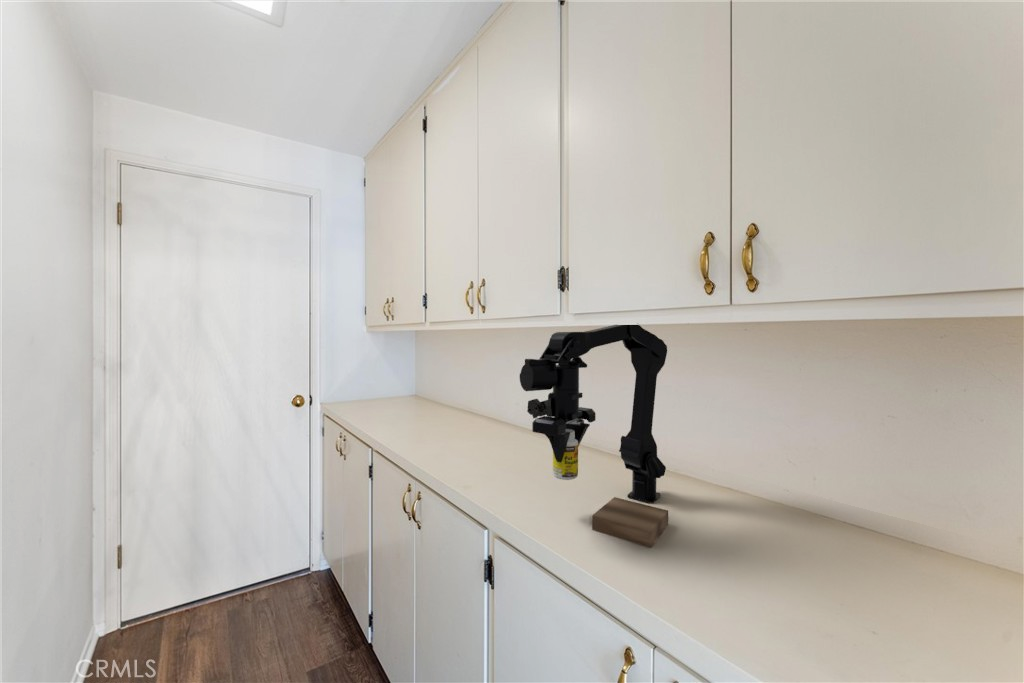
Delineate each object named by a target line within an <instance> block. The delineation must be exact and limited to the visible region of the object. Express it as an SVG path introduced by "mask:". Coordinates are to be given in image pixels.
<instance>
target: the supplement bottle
mask: <svg viewBox="0 0 1024 683" xmlns="http://www.w3.org/2000/svg"><path fill="white" fill-rule="evenodd" d="M565 432H570V435H569V439H568V442H567V446H566V449H565V453H564V456H563V459H562V462H557V461H556V458H555V455H554V452H553V451H552V475H553V477H554V478H556V479H559V480H561V481H570V480H571V481H572V480H575V479H576V478H578V477H579V476H578V475H579V446H578V441H577V440H576V439H574V438H575V431H574V430H571V429H566V430H565Z"/></svg>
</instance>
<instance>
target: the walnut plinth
mask: <svg viewBox="0 0 1024 683" xmlns="http://www.w3.org/2000/svg"><path fill="white" fill-rule="evenodd" d="M591 517H592V518H591V519H592V521H591V530H592V531H594V532H595V531H596V532H599V533H601V534H605V535H608V536H612V537H614V538H618V539H620V540H625V541H628V542H631V543H634V544H637V545H640V546H644V547H647V548H649V549H651V548H652V547H653V545H654V544H655V543H656V541H657V540H658V539H659V538H660V536H661V535H662V534H663V532H664V531H665V530H666V528H667V527H668V525H669V510H667V509H663V508H660V507H656V506H652V505H649V504H648V505H647V504H644V503H640V502H636V501H632V500H628V499H623V498H620V497H616V496H614V497H613V498H611V499H610V500H609V501H608V502H607V503H605V504H604V505H603V506H602V507H601V508H599V509H597V511H595V512H594V513H593V514H592V516H591Z"/></svg>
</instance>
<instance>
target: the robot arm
mask: <svg viewBox="0 0 1024 683" xmlns="http://www.w3.org/2000/svg"><path fill="white" fill-rule="evenodd" d="M620 341H622V344H623V346H624V347H625V349H626V350H628V351H629V353H630V358H631V359H630V361H631V364H632V367H633V369H634V371H635V381H634V382H635V383H634V393H633V403H632V413H631V424H630V430H629V431H628V432H627V434H626V436H625V435H622V436H620V447H619V450H618V452H620V458H621V460H622V461H623V463H624V466H625V469H627V470H630V471H632V479H631V480H632V487H631V488H632V489H631V491H630V492H628V494H627V498H629V499H634V500H637V501H642V502H646V503H650V504H654V503H656V501H657V500H658V499H659V498H660V497H661V495H662V494H661V493H660V492H657V479H661V477H663V476H665V472H666V469H667V467H666V465H665V464H664V463H663V462H662V461H661V459H660V458H659V457H658V445H657V443H656V440H655V438H654V436H653V433H652V432H653V431H652V430H653V422H654V411H655V399H656V389H657V378H658V375H659V373H660V372H661V371H662V369H663V367H664V366H665V364H666V360H667V354H668V346H667V344H666V343H665V341H664V339H661V338H659V337H658V336H657V335H655V334H654V333H652V332H650V331H648V330H646V329H645V328H643V327H642V325H640V324H639V325H617V324H612V325H608V326H604V327H600V328H594V329H591V330H590V329H589V330H586V331H557V332H554V333H553V334H551V337H550V338H549V341H548V344H547V346H546V348H545V349H544V351H543V352H542V354H541V356H540V357H539V359H537V358H525V359H524V365H523V366H522V367H521V370H520V373H519V383H520V387H521V388H522V390H523V391H525V392H533V391H534V392H535V391H549V390H552V391H551V392H549V393H548V395H547V399H545V400H542V401H540V400H539V399H538V398H534V399H531V400H528V402H527V410H526V412H527V413H528V414H529V415H531V416H532V419H533V421H532V426H531V427H532V430H531V431H532V433H536V434H542V435H545V437H546V438H547V439H548V440H549V444H550V445H551V448H552V453H553V452H554V455H555V458H556V461H557V462H562V459H563V456H564V453H565V449H566V446H567V442H568V439H569V435H570V432H565V430H566V429H571V430H574V431H575V438H574V439H576V440H577V441H578V447H580V444H581V442H582V440H583V438H584V436H585V434H586V432H587V430H588V429H589V427H590V423H593V422H596V411H594V409H593V408H589V407H582V406H581V407H580V399H582V398H583V392H580V382H579V381H580V369H582V368H584V369H585V368H588V364H587V363H586V362H585V361H583V359H582V357H581V356H583V355H586V354H587V353H589V352H590V351H591V349H594V348H597V347H601V346H605V345H609V344H612V343H616V342H618V343H619V342H620ZM585 421H587V422H588V423H585Z"/></svg>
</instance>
